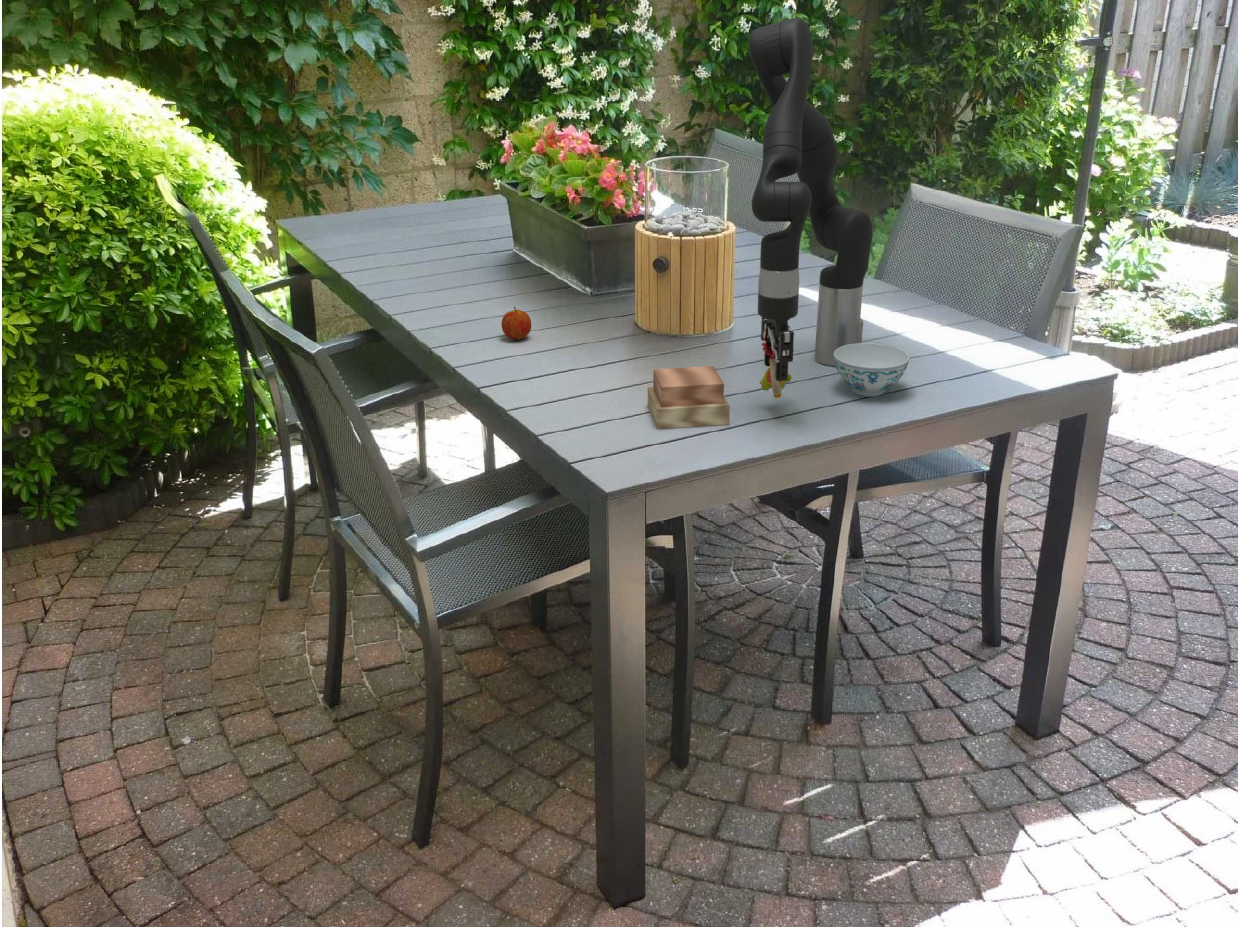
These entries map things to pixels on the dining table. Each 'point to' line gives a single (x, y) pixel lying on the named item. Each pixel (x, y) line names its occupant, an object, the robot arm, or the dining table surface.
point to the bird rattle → (772, 375)
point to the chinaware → (870, 366)
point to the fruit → (516, 324)
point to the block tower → (688, 398)
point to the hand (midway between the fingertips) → (775, 372)
